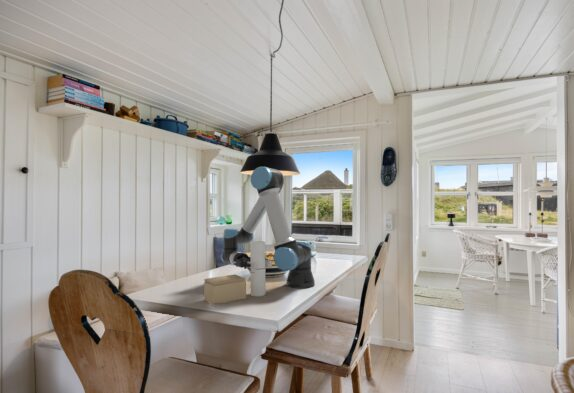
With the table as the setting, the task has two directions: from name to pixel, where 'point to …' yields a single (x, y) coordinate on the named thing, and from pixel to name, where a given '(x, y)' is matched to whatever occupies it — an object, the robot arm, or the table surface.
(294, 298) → the table surface
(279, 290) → the table surface
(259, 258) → the cylindrical container
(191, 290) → the table surface
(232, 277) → the lid
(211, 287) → the box
